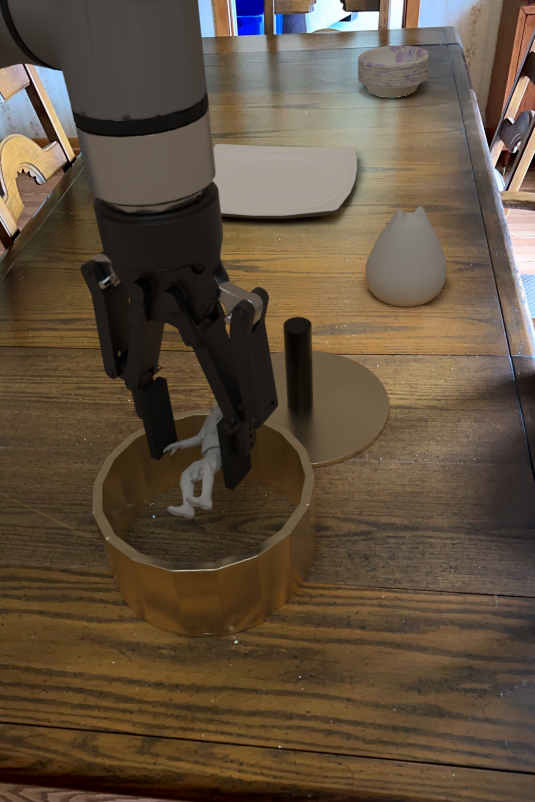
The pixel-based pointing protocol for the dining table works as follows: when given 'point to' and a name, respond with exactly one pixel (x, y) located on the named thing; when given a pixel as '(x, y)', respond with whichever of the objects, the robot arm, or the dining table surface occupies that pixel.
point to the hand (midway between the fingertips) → (200, 462)
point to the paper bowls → (393, 69)
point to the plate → (283, 180)
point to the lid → (325, 398)
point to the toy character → (406, 261)
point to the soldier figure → (200, 466)
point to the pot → (206, 581)
